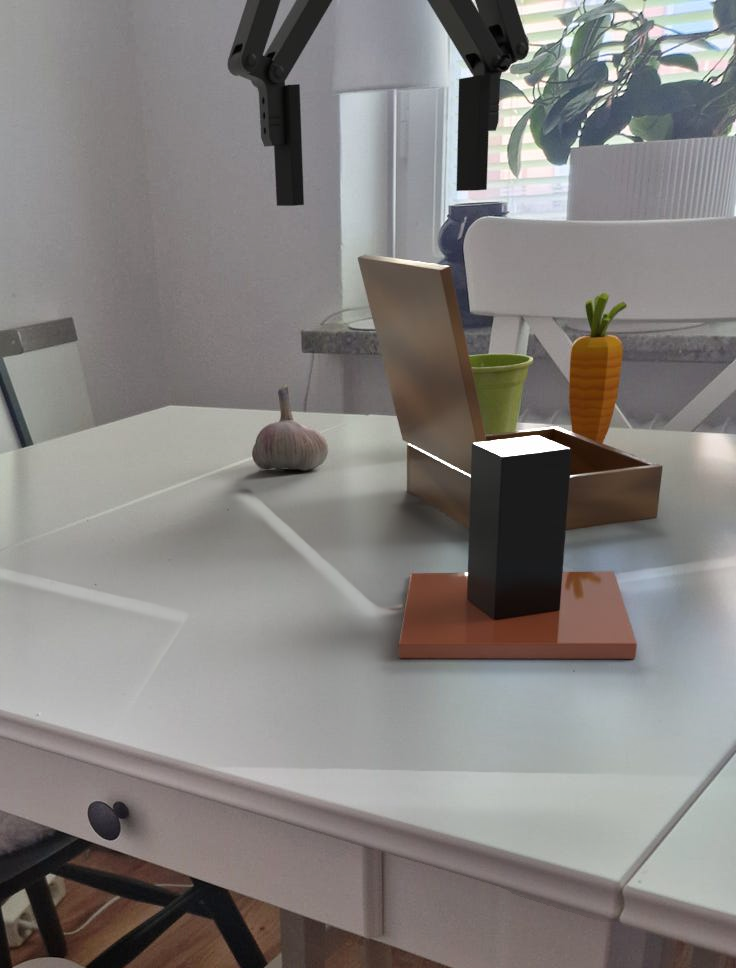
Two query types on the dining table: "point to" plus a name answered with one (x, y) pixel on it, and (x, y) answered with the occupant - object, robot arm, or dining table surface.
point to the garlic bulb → (289, 442)
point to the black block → (517, 525)
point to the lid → (425, 356)
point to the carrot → (595, 373)
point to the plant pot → (499, 388)
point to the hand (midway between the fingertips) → (383, 198)
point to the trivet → (516, 622)
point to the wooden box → (592, 485)
